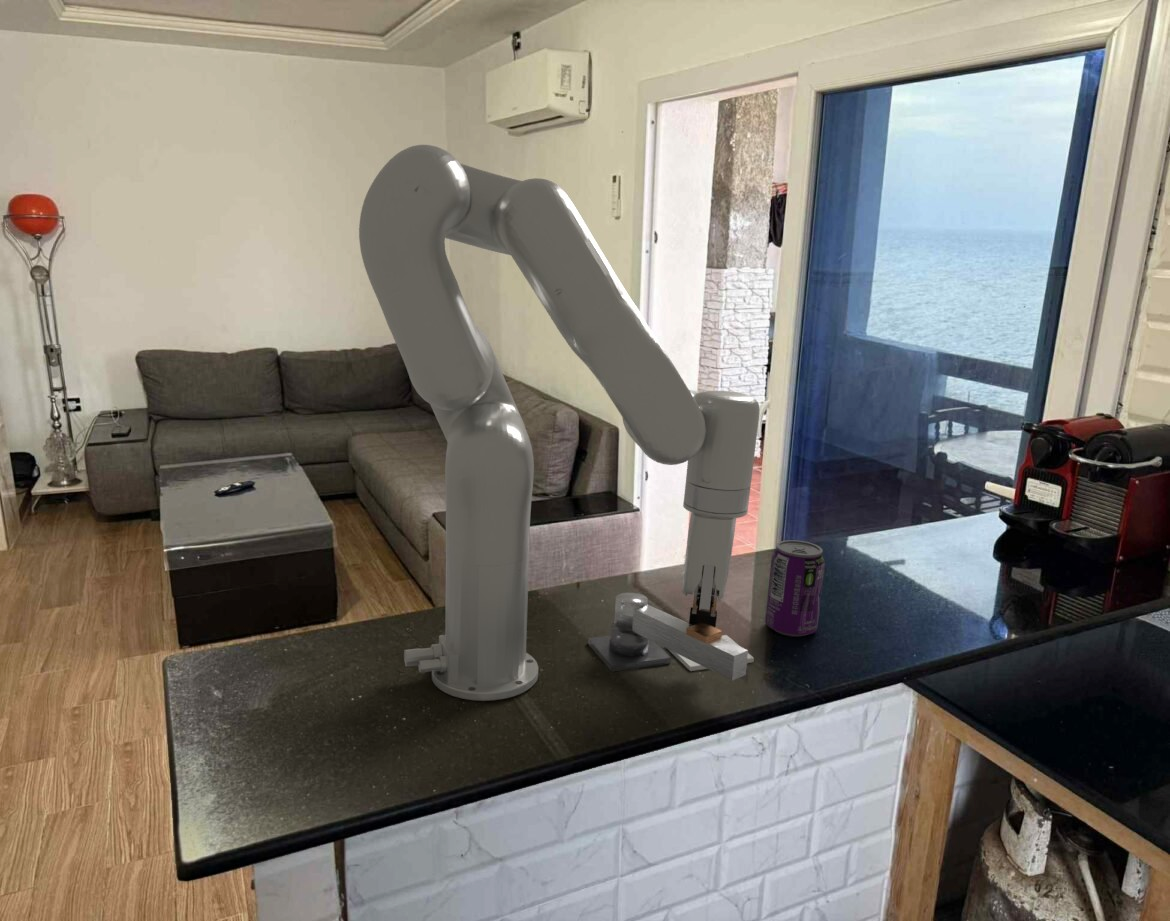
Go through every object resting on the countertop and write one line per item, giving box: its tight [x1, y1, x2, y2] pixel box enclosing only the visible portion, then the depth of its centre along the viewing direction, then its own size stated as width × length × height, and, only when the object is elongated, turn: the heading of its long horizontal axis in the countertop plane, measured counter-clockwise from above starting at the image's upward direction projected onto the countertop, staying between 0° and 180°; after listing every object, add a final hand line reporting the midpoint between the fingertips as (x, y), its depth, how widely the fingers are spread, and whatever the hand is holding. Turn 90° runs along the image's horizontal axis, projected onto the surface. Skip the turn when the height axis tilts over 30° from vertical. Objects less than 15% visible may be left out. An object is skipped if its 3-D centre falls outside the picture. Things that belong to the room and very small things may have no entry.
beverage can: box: [764, 539, 826, 638], centre depth 119 cm, size 7×7×12 cm
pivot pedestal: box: [587, 622, 671, 673], centre depth 110 cm, size 8×8×4 cm
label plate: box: [667, 634, 755, 672], centre depth 111 cm, size 9×7×1 cm
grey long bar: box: [613, 592, 749, 681], centre depth 103 cm, size 20×4×4 cm, turn 41°
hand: (700, 641), depth 105 cm, fingers closed
